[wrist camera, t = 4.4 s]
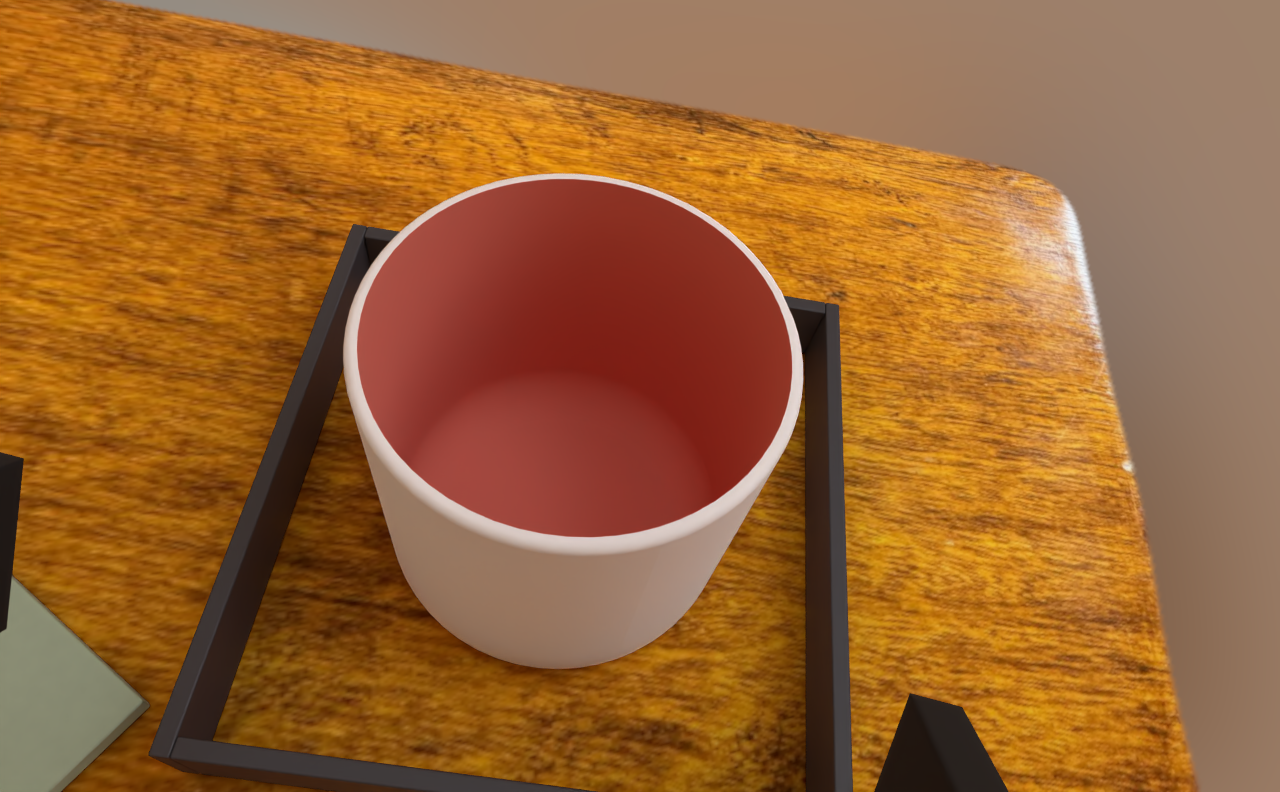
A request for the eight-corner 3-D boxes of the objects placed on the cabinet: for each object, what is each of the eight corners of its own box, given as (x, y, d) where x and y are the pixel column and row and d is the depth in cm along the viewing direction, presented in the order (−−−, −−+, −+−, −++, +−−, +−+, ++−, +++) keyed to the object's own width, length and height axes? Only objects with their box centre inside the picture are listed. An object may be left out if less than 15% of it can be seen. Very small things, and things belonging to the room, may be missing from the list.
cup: (763, 618, 26) (885, 473, 18) (439, 730, 23) (400, 622, 15) (649, 357, 31) (703, 143, 22) (365, 425, 28) (304, 208, 19)
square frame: (817, 345, 32) (839, 304, 30) (823, 854, 23) (855, 847, 21) (363, 270, 31) (352, 223, 29) (181, 771, 22) (146, 755, 20)
